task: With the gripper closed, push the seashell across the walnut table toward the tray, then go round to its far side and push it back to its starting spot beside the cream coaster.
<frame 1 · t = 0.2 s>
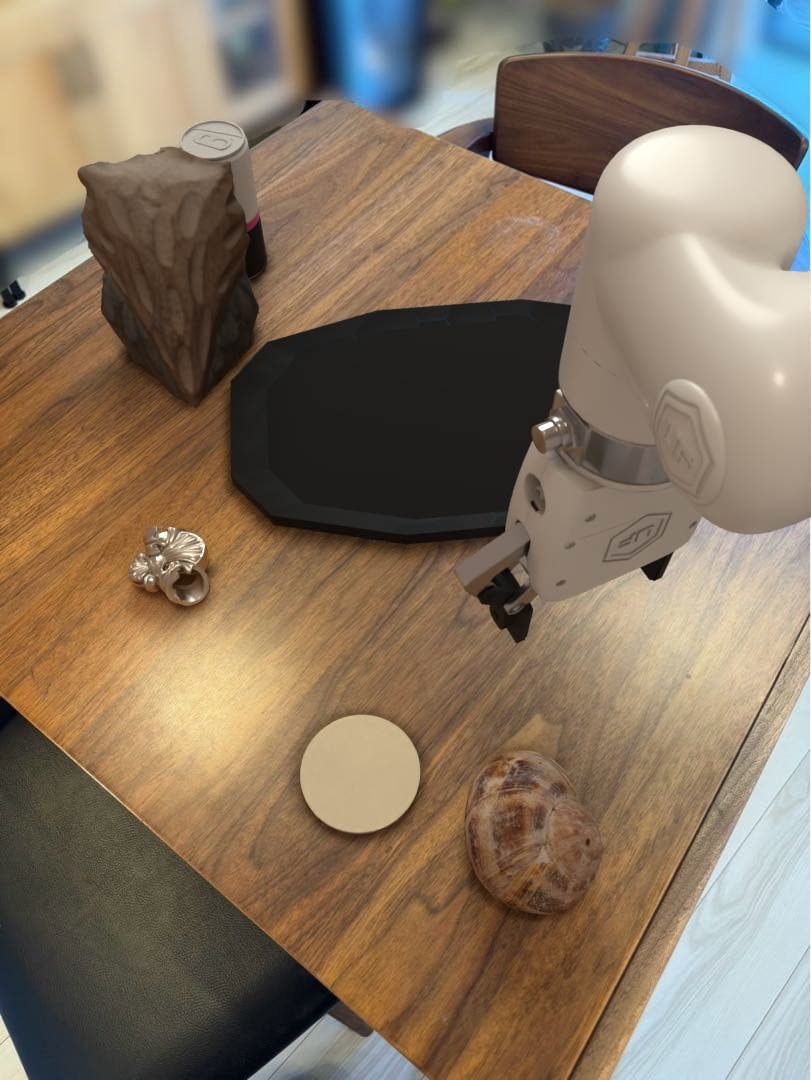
hand: (576, 591, 55), 18 cm above the table, tool pointing down, fingers open, 9 cm apart
coaster: (360, 773, 67), on the table
tray: (468, 417, 86), on the table
seashell: (528, 837, 65), on the table
ornament: (173, 575, 77), on the table
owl: (190, 360, 90), on the table
beverage can: (238, 265, 98), on the table
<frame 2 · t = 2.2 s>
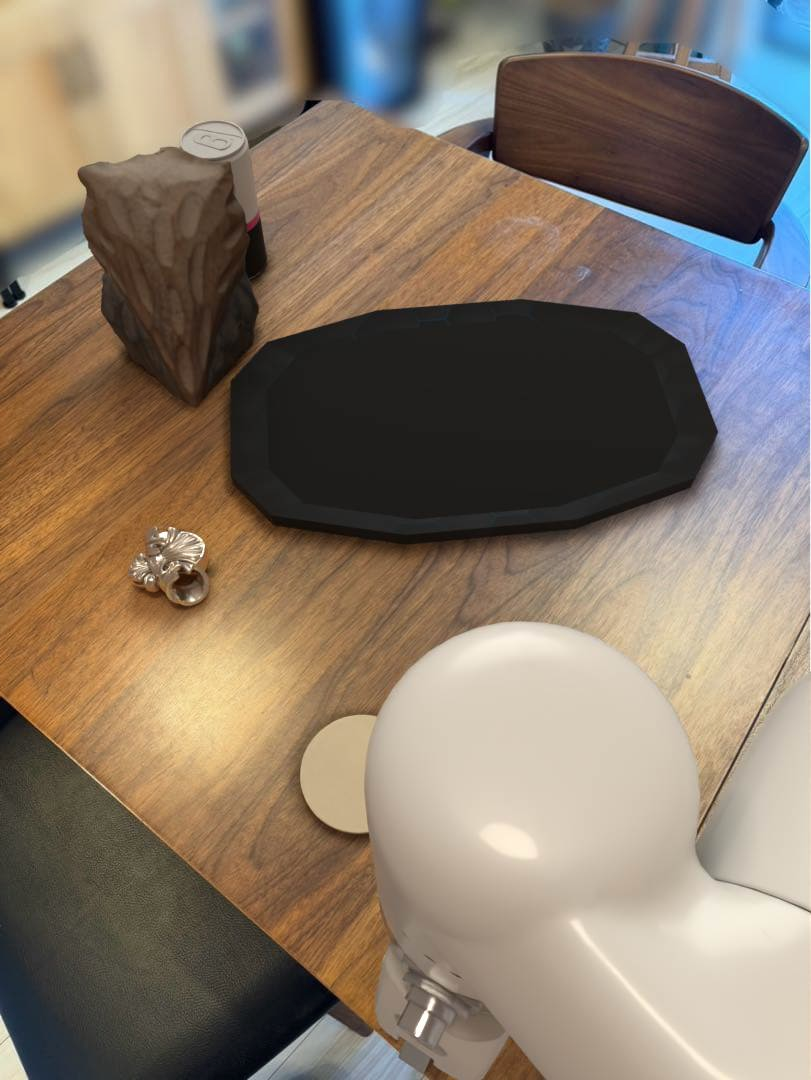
hand: (464, 961, 44), 17 cm above the table, tool pointing down, fingers closed
nothing on the table moved.
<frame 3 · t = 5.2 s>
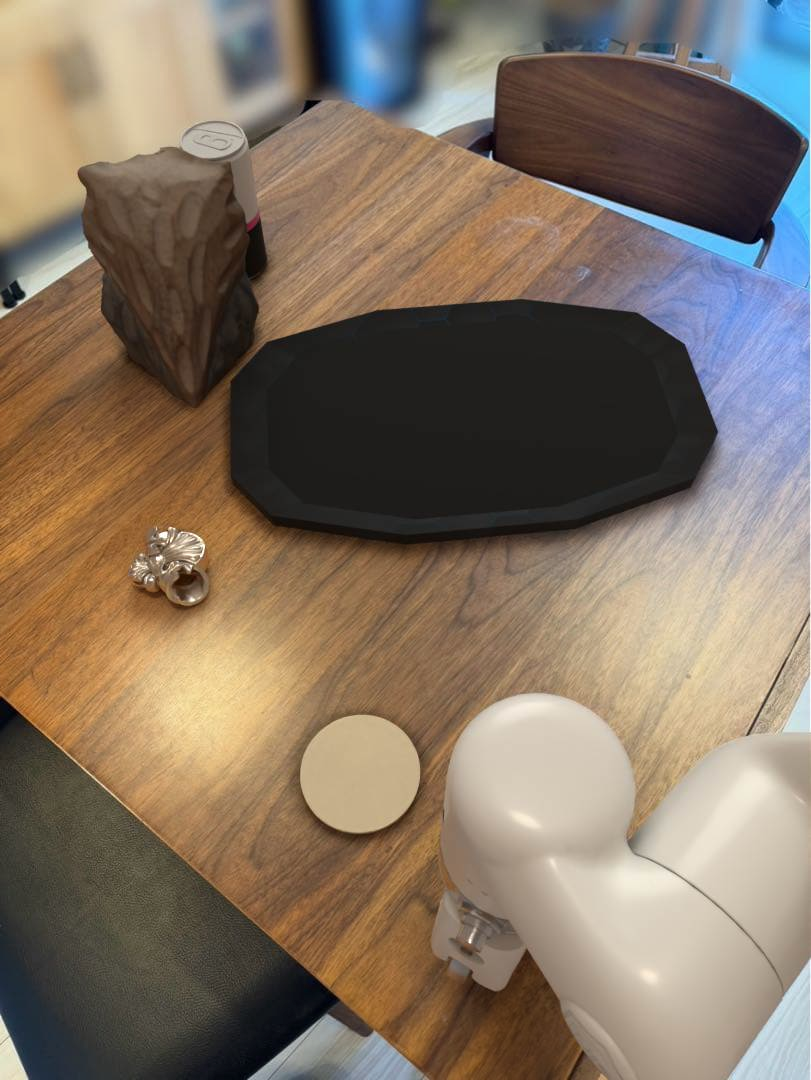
hand: (485, 914, 60), 2 cm above the table, tool pointing down, fingers closed
seashell: (533, 820, 65), on the table, touching gripper
everything else where it was.
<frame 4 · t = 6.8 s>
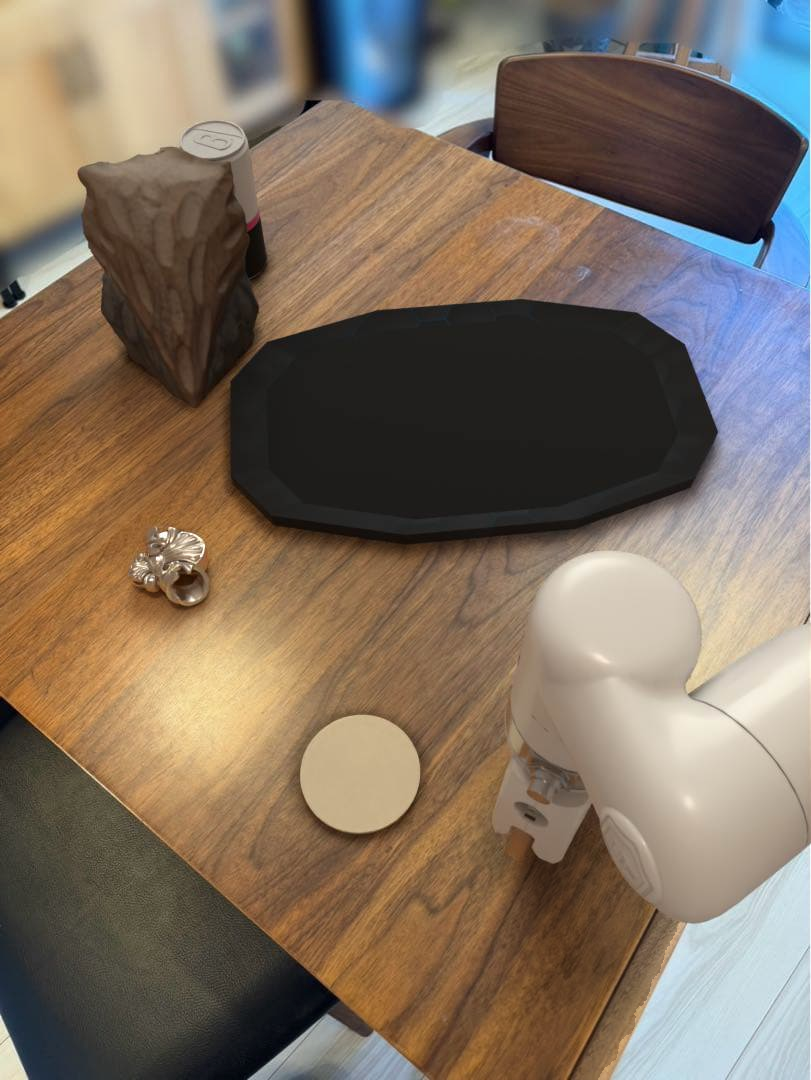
hand: (534, 810, 64), 2 cm above the table, tool pointing down, fingers closed
seashell: (577, 730, 69), on the table, touching gripper
everything else where it was.
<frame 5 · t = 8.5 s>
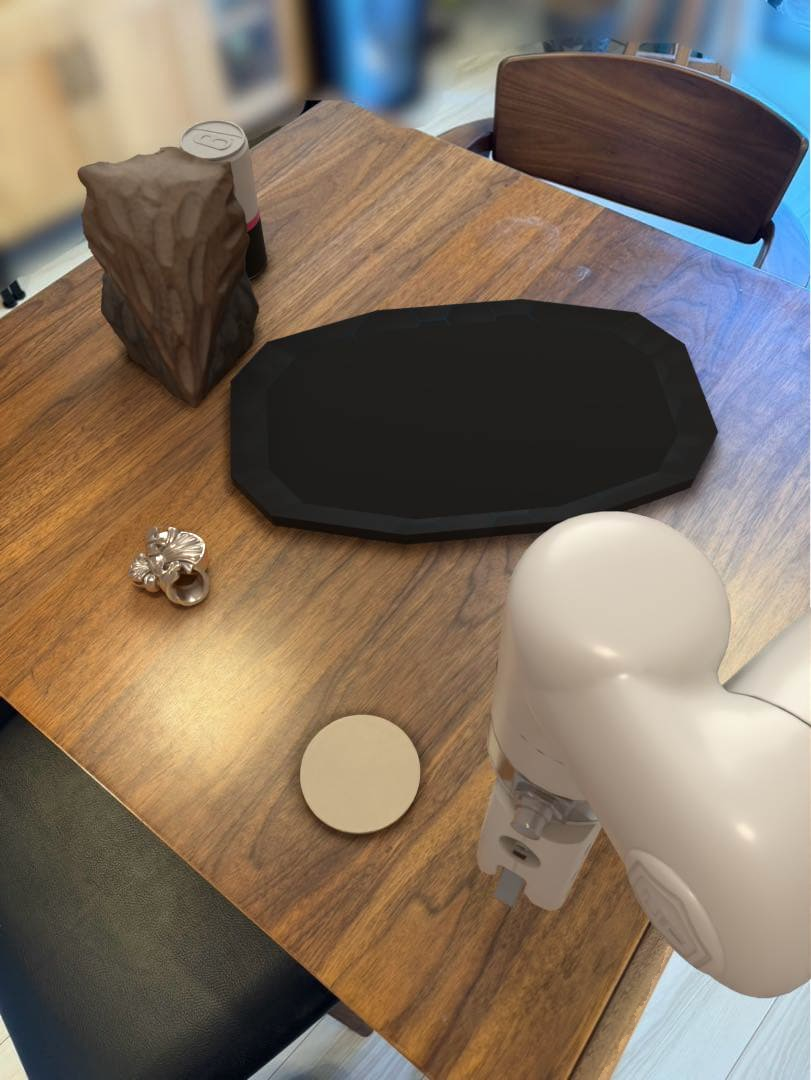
hand: (534, 845, 54), 10 cm above the table, tool pointing down, fingers closed
seashell: (580, 725, 69), on the table
everything else where it was.
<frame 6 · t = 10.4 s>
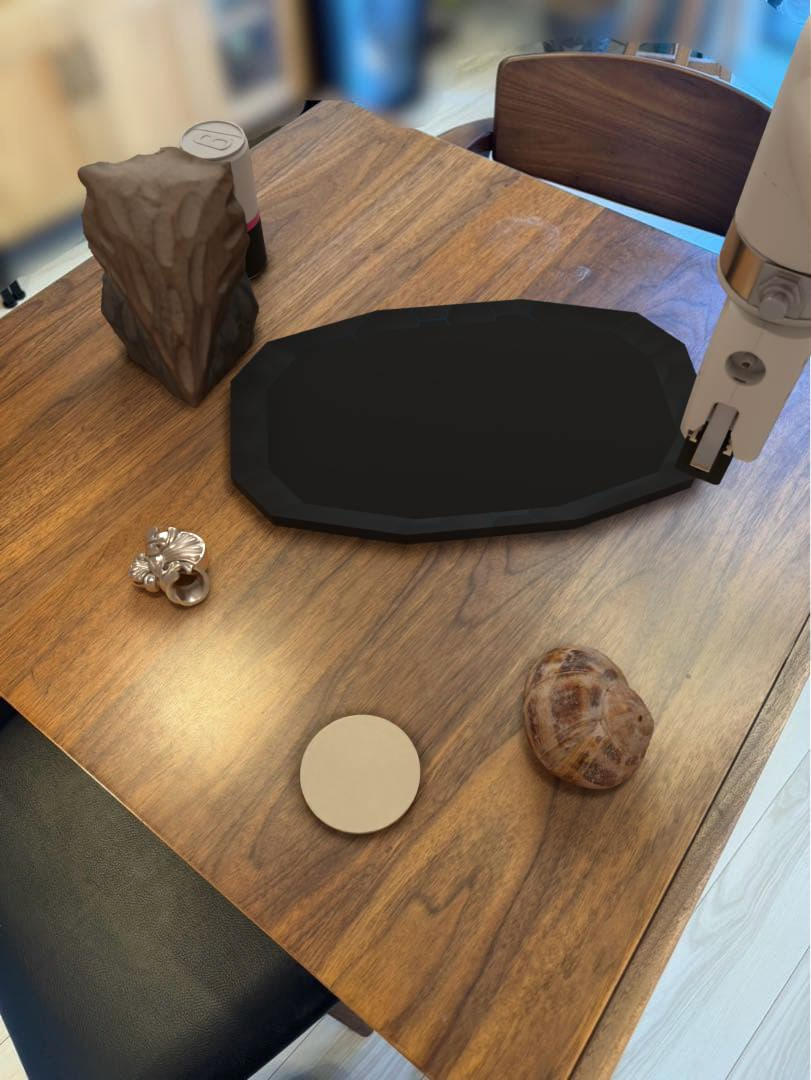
hand: (699, 469, 61), 17 cm above the table, tool pointing down, fingers closed
nothing on the table moved.
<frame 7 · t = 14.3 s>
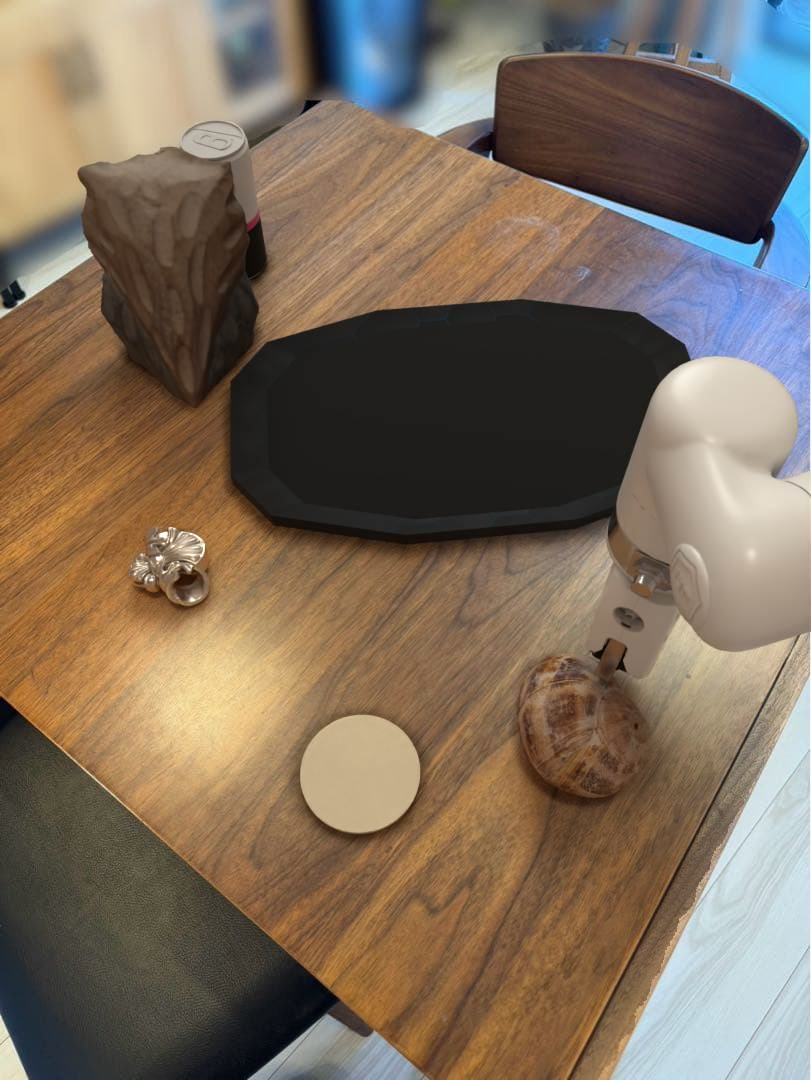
hand: (613, 656, 71), 1 cm above the table, tool pointing down, fingers closed
seashell: (575, 733, 69), on the table, touching gripper
everything else where it was.
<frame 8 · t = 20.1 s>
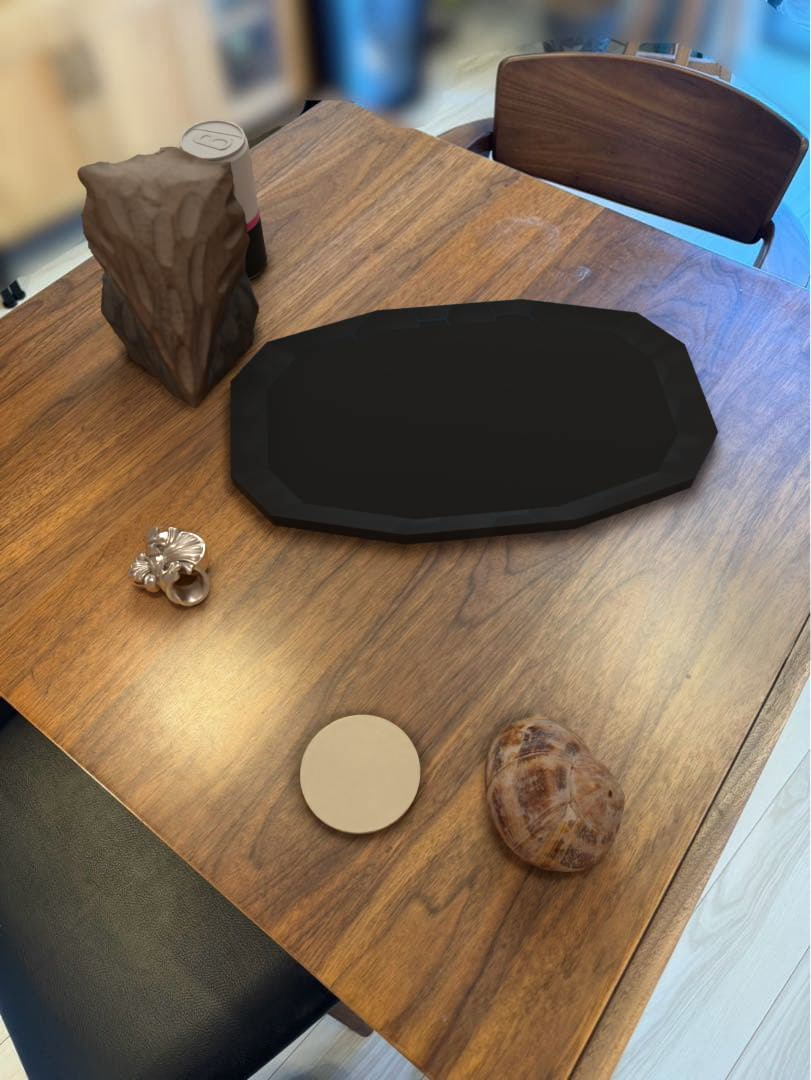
seashell: (546, 800, 66), on the table
everything else where it was.
at the end: seashell touching table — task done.
